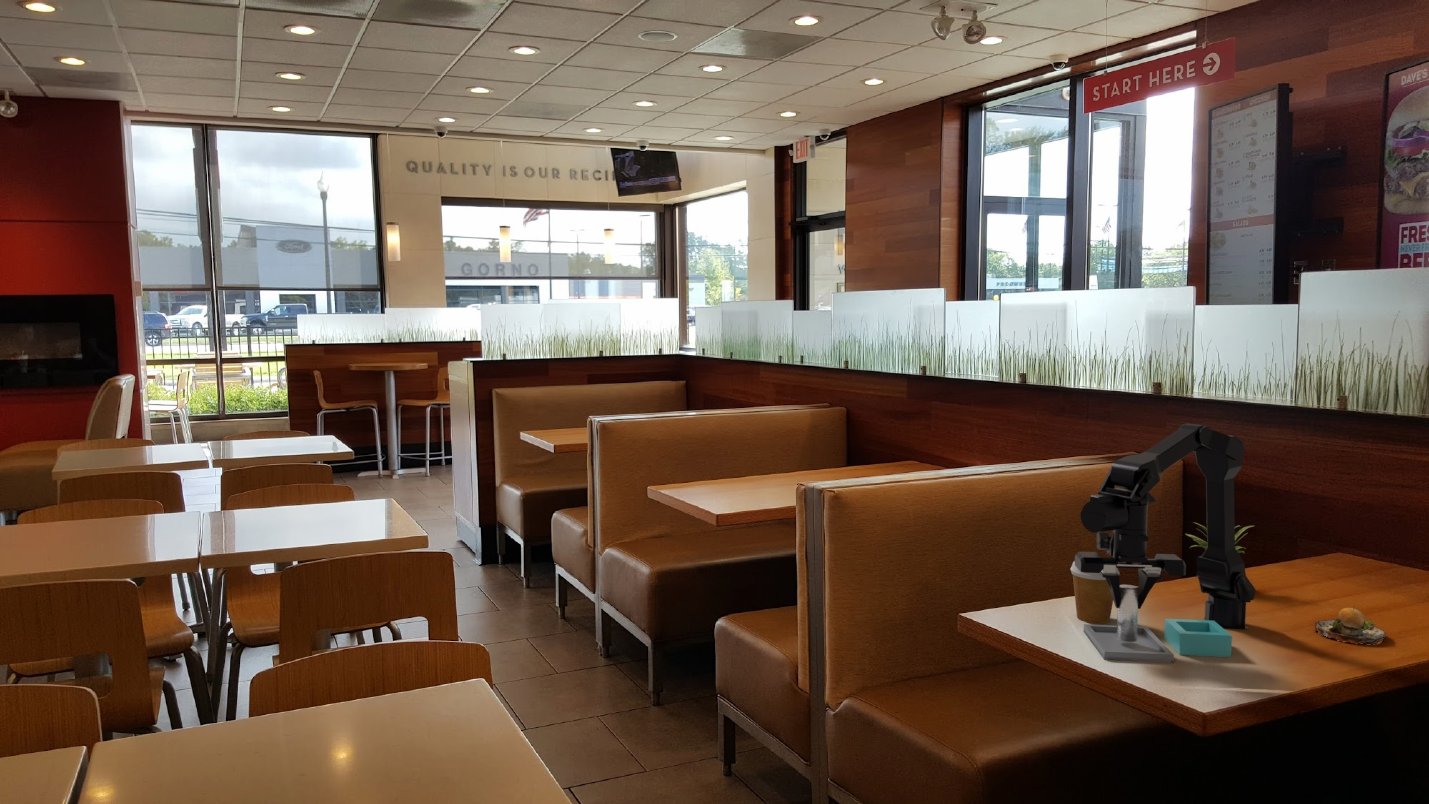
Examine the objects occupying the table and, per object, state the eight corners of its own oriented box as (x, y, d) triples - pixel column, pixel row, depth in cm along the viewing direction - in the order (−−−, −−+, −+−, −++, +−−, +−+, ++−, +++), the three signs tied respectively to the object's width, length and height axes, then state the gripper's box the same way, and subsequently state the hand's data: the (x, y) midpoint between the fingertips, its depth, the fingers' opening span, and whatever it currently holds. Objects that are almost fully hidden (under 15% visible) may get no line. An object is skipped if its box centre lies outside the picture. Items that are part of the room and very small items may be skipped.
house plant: (1229, 578, 234) (1231, 511, 233) (1271, 594, 221) (1274, 523, 219) (1175, 581, 232) (1178, 513, 231) (1214, 597, 218) (1217, 526, 217)
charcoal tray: (1146, 636, 192) (1146, 626, 192) (1173, 665, 176) (1173, 654, 176) (1083, 634, 193) (1083, 624, 193) (1104, 662, 178) (1104, 651, 178)
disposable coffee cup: (1109, 614, 206) (1111, 559, 205) (1124, 629, 197) (1126, 570, 196) (1063, 613, 207) (1065, 558, 206) (1075, 627, 198) (1077, 569, 197)
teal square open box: (1212, 643, 188) (1213, 620, 187) (1230, 659, 179) (1232, 635, 179) (1163, 641, 189) (1164, 618, 189) (1179, 657, 180) (1180, 633, 180)
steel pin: (1134, 636, 186) (1135, 585, 185) (1139, 642, 183) (1141, 590, 182) (1114, 635, 187) (1116, 584, 186) (1119, 641, 183) (1121, 589, 182)
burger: (1391, 636, 192) (1393, 599, 192) (1379, 651, 184) (1382, 613, 183) (1321, 623, 201) (1323, 588, 200) (1307, 637, 192) (1309, 600, 191)
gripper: (1168, 519, 189) (1166, 597, 191) (1069, 517, 192) (1067, 594, 193) (1188, 531, 178) (1185, 614, 180) (1082, 529, 181) (1080, 611, 182)
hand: (1127, 607), depth 184 cm, fingers closed on steel pin, 3 cm apart
